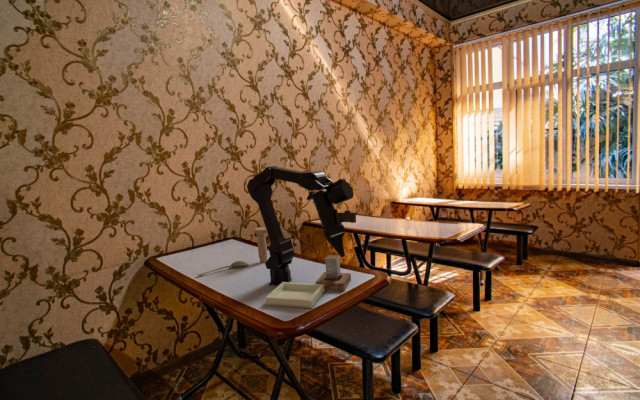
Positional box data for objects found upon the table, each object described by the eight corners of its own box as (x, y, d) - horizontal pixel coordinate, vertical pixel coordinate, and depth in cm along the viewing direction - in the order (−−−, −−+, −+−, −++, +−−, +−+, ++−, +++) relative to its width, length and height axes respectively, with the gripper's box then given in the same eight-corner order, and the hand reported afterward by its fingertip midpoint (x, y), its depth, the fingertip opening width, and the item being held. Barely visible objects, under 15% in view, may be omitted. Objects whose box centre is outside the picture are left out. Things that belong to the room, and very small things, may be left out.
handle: (264, 259, 154) (261, 226, 153) (272, 261, 150) (269, 228, 148) (255, 261, 151) (252, 228, 149) (262, 264, 146) (259, 230, 145)
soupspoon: (252, 268, 147) (245, 265, 152) (251, 260, 146) (245, 258, 152) (200, 279, 133) (195, 276, 139) (199, 271, 133) (194, 268, 138)
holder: (315, 289, 116) (315, 282, 115) (324, 278, 125) (324, 272, 125) (344, 291, 113) (344, 283, 112) (351, 280, 122) (350, 273, 122)
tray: (266, 305, 106) (265, 297, 105) (283, 288, 118) (282, 282, 118) (311, 308, 101) (311, 300, 101) (324, 291, 113) (324, 284, 113)
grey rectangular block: (326, 286, 118) (325, 258, 116) (330, 282, 121) (328, 255, 120) (338, 287, 116) (336, 258, 115) (340, 282, 120) (339, 255, 119)
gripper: (351, 198, 99) (370, 249, 98) (347, 202, 118) (362, 245, 117) (315, 211, 99) (334, 262, 98) (317, 213, 118) (332, 256, 116)
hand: (342, 255), depth 107 cm, fingers open, 9 cm apart
